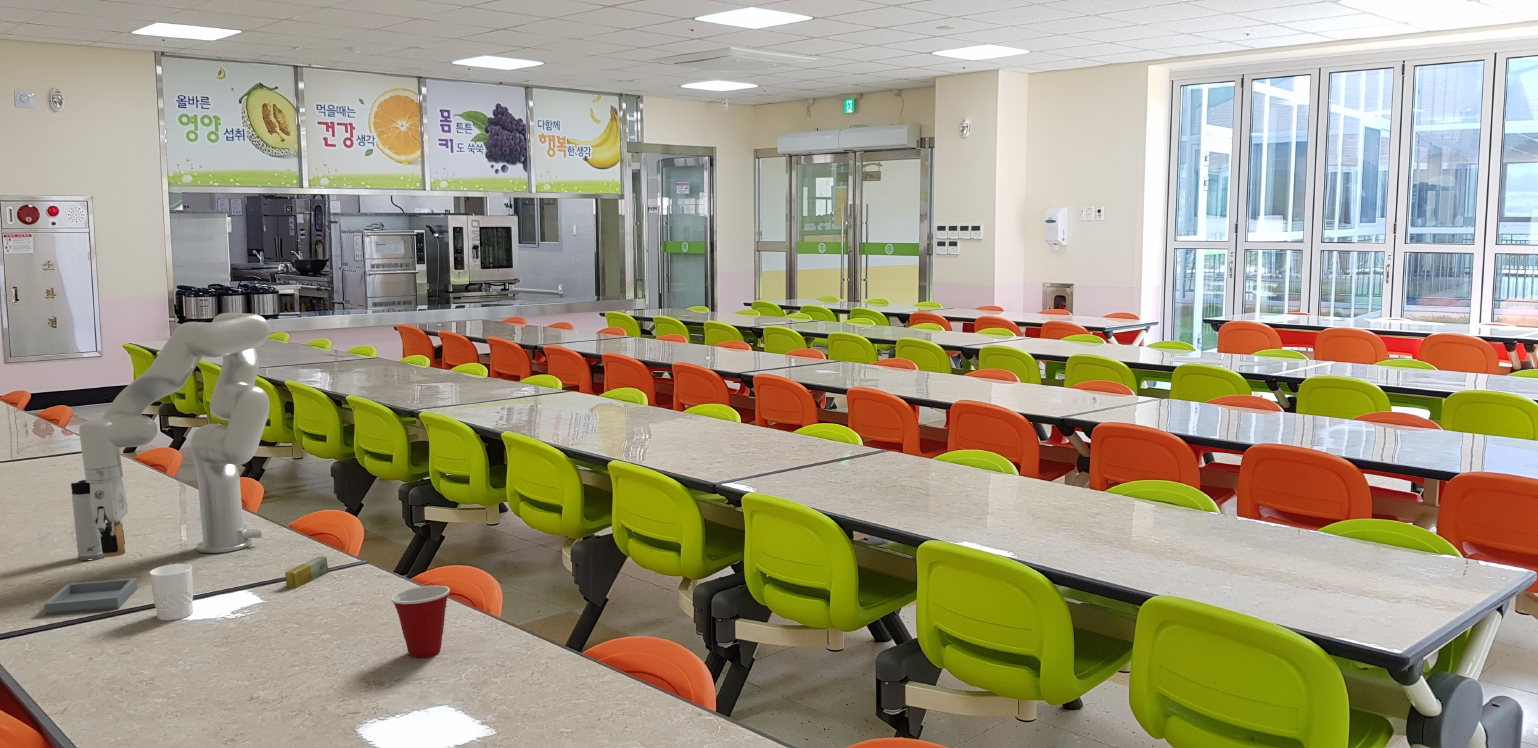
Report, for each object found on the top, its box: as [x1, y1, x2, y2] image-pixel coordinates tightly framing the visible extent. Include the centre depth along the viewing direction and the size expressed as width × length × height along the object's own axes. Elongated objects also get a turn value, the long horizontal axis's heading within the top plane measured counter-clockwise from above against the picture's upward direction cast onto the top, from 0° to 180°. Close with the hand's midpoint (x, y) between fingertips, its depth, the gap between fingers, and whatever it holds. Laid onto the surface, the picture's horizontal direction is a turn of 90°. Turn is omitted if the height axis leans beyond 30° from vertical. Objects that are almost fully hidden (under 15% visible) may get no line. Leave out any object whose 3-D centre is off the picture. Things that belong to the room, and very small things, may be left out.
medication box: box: [284, 556, 329, 589], centre depth 263 cm, size 12×3×4 cm, turn 166°
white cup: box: [149, 563, 194, 621], centre depth 240 cm, size 8×8×10 cm
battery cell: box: [103, 521, 126, 558], centre depth 267 cm, size 4×4×8 cm
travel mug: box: [70, 479, 105, 561], centre depth 283 cm, size 6×7×20 cm
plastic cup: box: [390, 585, 451, 659], centre depth 216 cm, size 11×11×12 cm
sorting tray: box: [43, 577, 138, 616], centre depth 250 cm, size 14×14×2 cm
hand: (113, 548), depth 267 cm, fingers closed on battery cell, 4 cm apart
